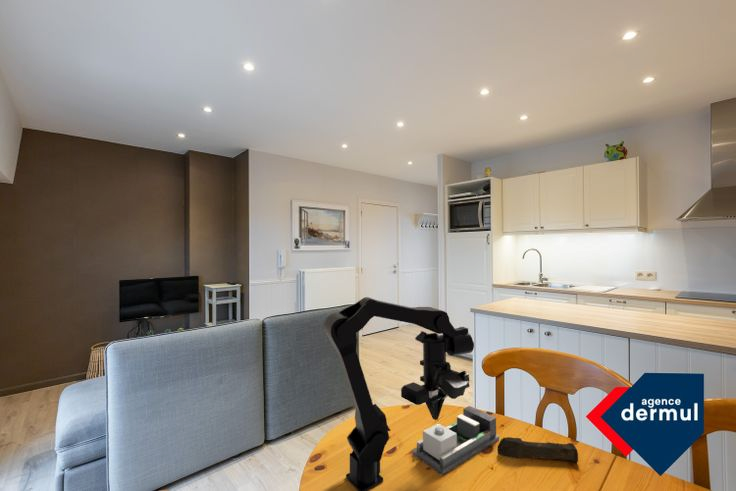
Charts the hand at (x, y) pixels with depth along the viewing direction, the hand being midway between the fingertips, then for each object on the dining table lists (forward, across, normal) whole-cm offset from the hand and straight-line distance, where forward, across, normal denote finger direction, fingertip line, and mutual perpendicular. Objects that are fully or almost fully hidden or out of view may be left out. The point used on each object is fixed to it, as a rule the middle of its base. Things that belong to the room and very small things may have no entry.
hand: (435, 419), depth 83 cm
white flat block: (+9, +13, 0) cm, 16 cm away
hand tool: (+11, +21, -15) cm, 28 cm away
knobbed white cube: (+9, +2, 0) cm, 9 cm away
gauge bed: (+10, +9, 0) cm, 13 cm away
